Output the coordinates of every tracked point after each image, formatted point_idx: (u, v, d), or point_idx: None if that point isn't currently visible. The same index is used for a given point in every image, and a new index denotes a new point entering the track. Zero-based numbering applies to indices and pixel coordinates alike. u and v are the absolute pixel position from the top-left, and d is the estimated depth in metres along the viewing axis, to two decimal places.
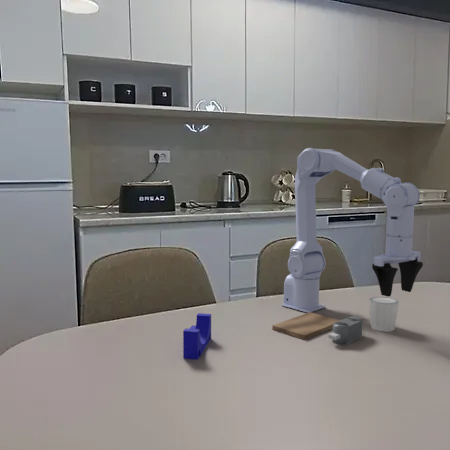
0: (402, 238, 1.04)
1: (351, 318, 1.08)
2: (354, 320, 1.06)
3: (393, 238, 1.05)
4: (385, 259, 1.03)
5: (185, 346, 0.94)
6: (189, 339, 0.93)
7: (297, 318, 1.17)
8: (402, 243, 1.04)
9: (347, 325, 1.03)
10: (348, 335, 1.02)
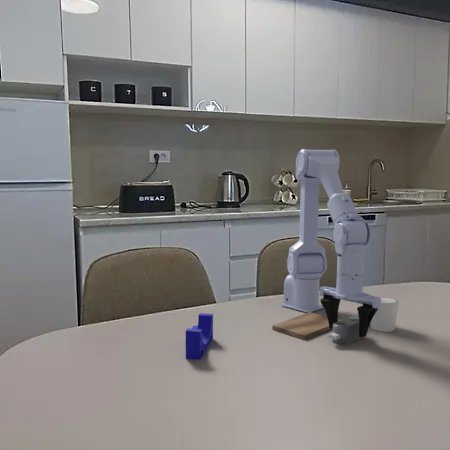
0: (337, 274, 1.04)
1: (351, 318, 1.08)
2: (354, 320, 1.06)
3: None
4: (323, 290, 1.08)
5: (187, 346, 0.93)
6: (192, 339, 0.93)
7: (297, 318, 1.17)
8: (337, 279, 1.04)
9: (347, 325, 1.03)
10: (348, 335, 1.02)
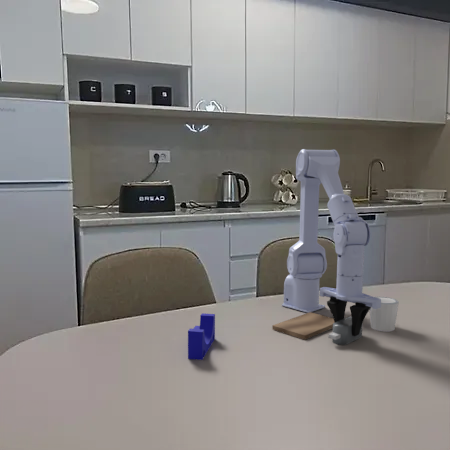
0: (337, 275, 1.04)
1: (351, 318, 1.08)
2: None
3: None
4: (323, 290, 1.08)
5: (190, 346, 0.93)
6: (194, 339, 0.93)
7: (297, 318, 1.17)
8: (337, 280, 1.04)
9: (347, 325, 1.03)
10: (348, 335, 1.02)
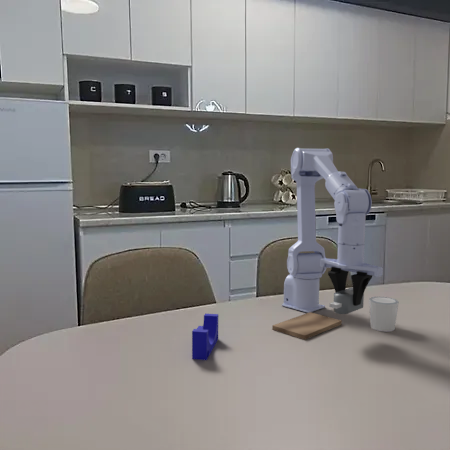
0: (338, 244, 1.03)
1: (352, 289, 1.07)
2: None
3: None
4: (324, 261, 1.07)
5: (194, 346, 0.93)
6: (198, 340, 0.93)
7: (297, 318, 1.17)
8: (338, 249, 1.03)
9: (348, 294, 1.02)
10: (349, 304, 1.02)
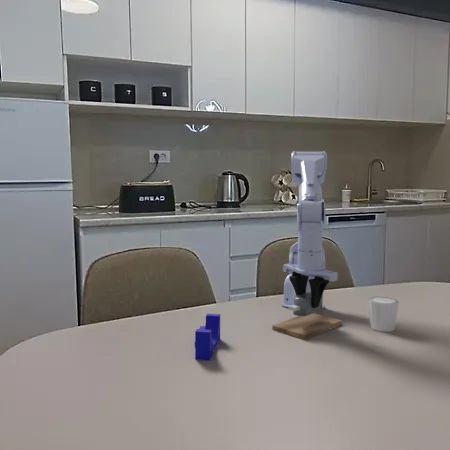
0: (298, 251, 1.11)
1: None
2: None
3: None
4: (286, 266, 1.15)
5: (197, 347, 0.93)
6: (201, 340, 0.93)
7: (297, 318, 1.17)
8: (298, 256, 1.11)
9: (307, 298, 1.10)
10: (307, 307, 1.10)
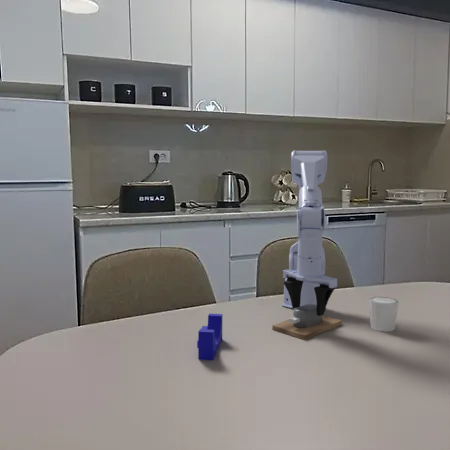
0: (298, 257, 1.11)
1: (312, 304, 1.15)
2: (314, 305, 1.14)
3: None
4: (286, 272, 1.15)
5: (200, 347, 0.93)
6: (205, 340, 0.93)
7: None
8: (297, 262, 1.11)
9: (306, 310, 1.10)
10: (307, 319, 1.10)
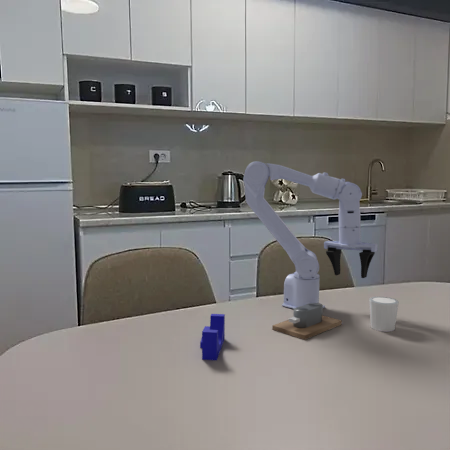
0: (339, 228, 1.25)
1: (312, 304, 1.15)
2: (314, 305, 1.14)
3: None
4: (327, 243, 1.29)
5: (204, 347, 0.93)
6: (208, 340, 0.93)
7: None
8: (340, 232, 1.25)
9: (306, 310, 1.10)
10: (307, 319, 1.10)
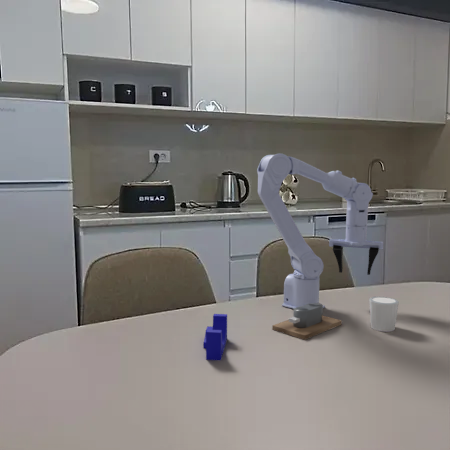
0: (349, 226, 1.28)
1: (312, 304, 1.15)
2: (314, 305, 1.14)
3: (346, 226, 1.30)
4: (333, 241, 1.31)
5: (208, 347, 0.93)
6: (212, 340, 0.93)
7: None
8: (349, 230, 1.28)
9: (306, 310, 1.10)
10: (307, 319, 1.10)
